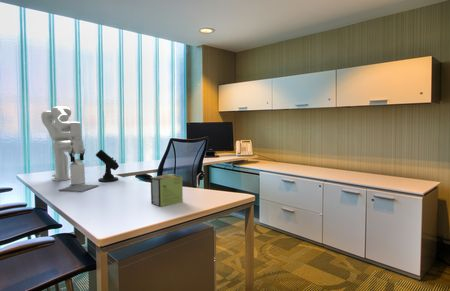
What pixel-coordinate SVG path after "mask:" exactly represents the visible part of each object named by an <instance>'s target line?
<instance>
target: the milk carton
mask: <svg viewBox="0 0 450 291" xmlns="http://www.w3.org/2000/svg"><path fill="white" fill-rule="evenodd" d="M69 171H70V172H69V176H70V177H71V179H70V185H76V184H83V185H84V184H85V183H86V177H85V176H86V173H85V171H86V170H85V163H84V162H83V160H80V157H78V158H75V162H70V165H69Z"/></svg>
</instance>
